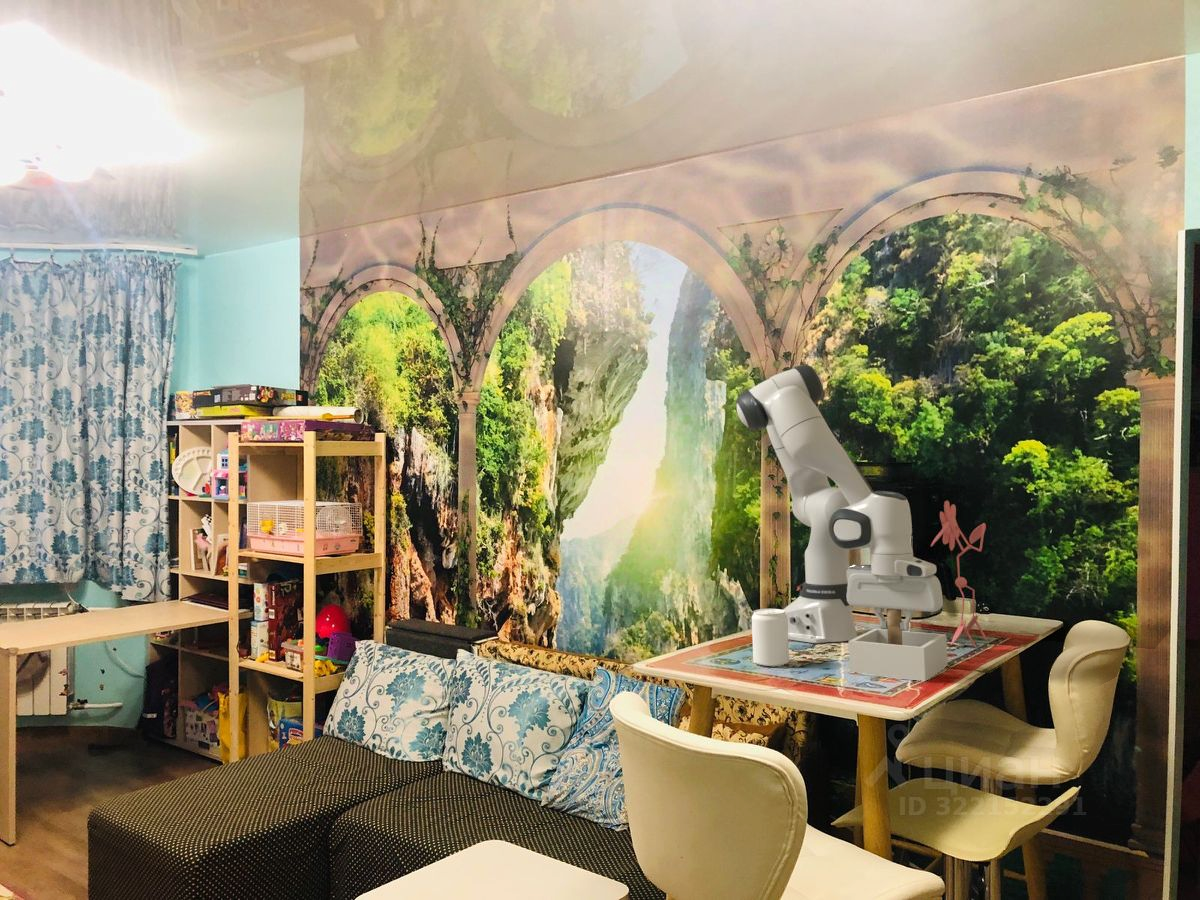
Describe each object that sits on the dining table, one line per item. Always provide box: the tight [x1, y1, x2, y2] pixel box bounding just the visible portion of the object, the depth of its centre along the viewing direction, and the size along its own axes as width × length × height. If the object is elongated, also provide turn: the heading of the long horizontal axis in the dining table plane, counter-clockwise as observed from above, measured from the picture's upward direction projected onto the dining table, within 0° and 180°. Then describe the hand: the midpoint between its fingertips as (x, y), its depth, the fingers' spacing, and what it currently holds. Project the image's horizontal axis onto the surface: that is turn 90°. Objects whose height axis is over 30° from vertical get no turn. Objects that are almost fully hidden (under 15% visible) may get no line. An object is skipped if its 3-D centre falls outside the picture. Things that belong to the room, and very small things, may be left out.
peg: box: [886, 609, 903, 645], centre depth 197 cm, size 3×3×10 cm
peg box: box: [848, 628, 948, 682], centre depth 197 cm, size 16×16×7 cm
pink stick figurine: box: [930, 500, 997, 648], centre depth 225 cm, size 15×26×35 cm, turn 141°
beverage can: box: [751, 608, 790, 667], centre depth 207 cm, size 8×8×12 cm
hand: (894, 629), depth 197 cm, fingers closed on peg, 3 cm apart
